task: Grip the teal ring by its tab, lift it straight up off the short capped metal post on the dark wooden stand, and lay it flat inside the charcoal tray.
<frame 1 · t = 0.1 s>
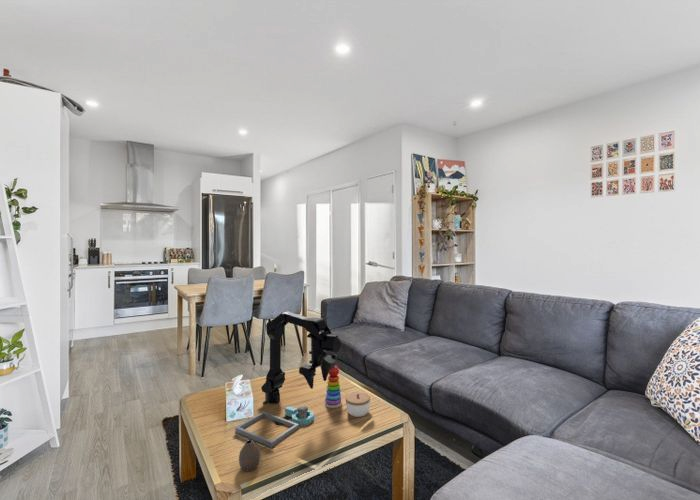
hand: (318, 384, 147), 15 cm above the table, tool pointing down, fingers open, 9 cm apart
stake: (302, 421, 145), on the table
stacking toy: (333, 406, 158), on the table
ring: (302, 419, 145), point 1 cm above the table, touching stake
vase: (249, 467, 116), on the table
tray: (267, 432, 137), on the table
lidded jar: (358, 415, 150), on the table
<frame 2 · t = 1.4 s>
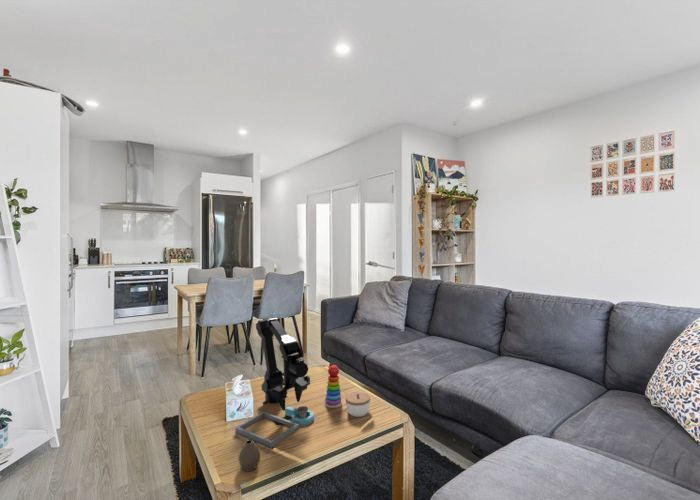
hand: (291, 405, 148), 5 cm above the table, tool pointing down, fingers open, 9 cm apart
nothing on the table moved.
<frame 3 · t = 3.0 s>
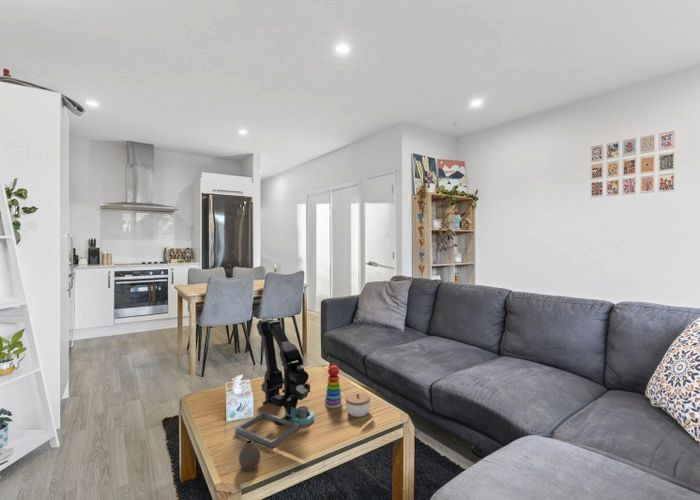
hand: (291, 413, 148), 2 cm above the table, tool pointing down, fingers closed on ring, 2 cm apart
ring: (302, 419, 145), point 1 cm above the table, touching gripper, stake
everything else where it was.
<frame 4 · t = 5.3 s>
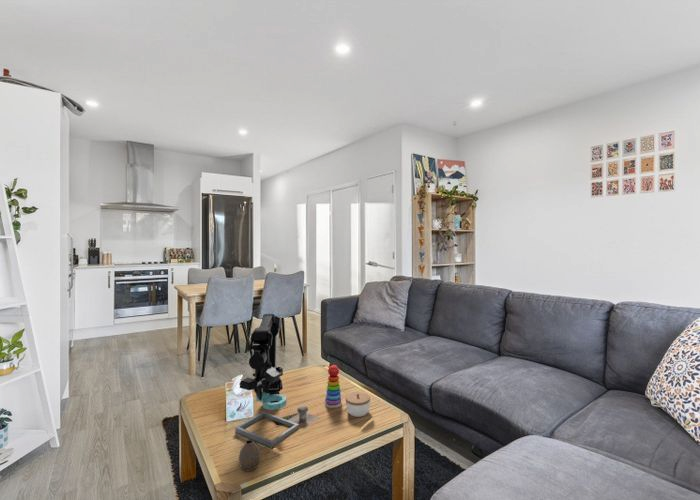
hand: (262, 398, 140), 12 cm above the table, tool pointing down, fingers closed on ring, 2 cm apart
ring: (274, 404, 137), point 11 cm above the table, touching gripper
everything else where it was.
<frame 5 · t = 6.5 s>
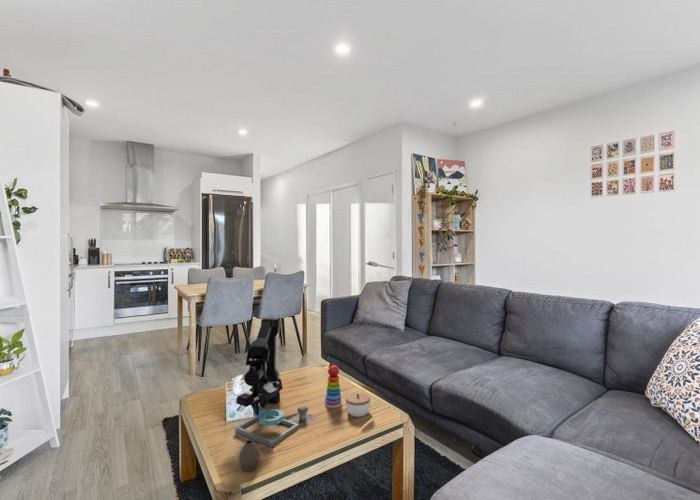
hand: (259, 413, 140), 6 cm above the table, tool pointing down, fingers closed on ring, 2 cm apart
ring: (271, 419, 136), point 5 cm above the table, touching gripper
everything else where it was.
when the fingers open (3 cm above the table, at t = 7.7 s): ring drops 1 cm, resting on tray.
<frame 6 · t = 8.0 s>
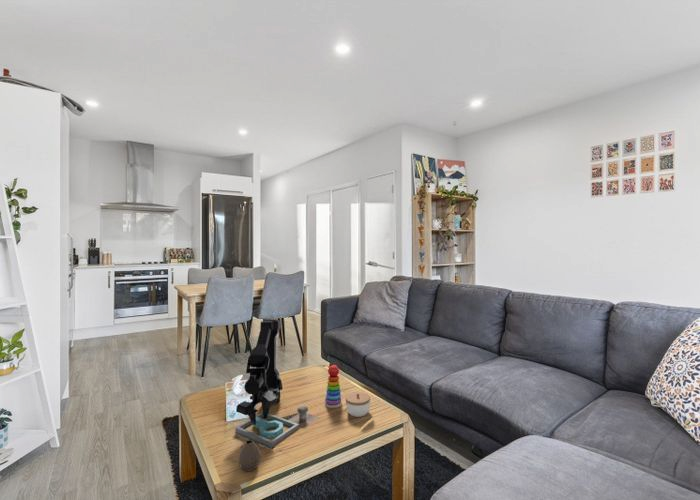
hand: (259, 421, 140), 3 cm above the table, tool pointing down, fingers open, 6 cm apart
ring: (271, 431, 136), point 1 cm above the table, touching tray
everything else where it was.
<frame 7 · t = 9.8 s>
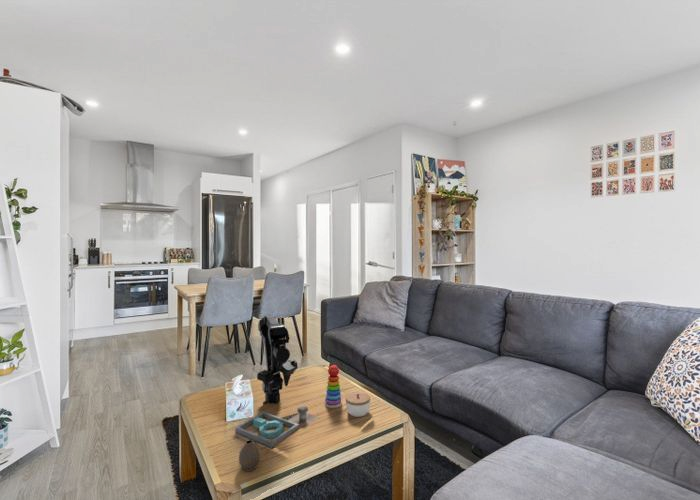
hand: (278, 389, 149), 12 cm above the table, tool pointing down, fingers open, 9 cm apart
nothing on the table moved.
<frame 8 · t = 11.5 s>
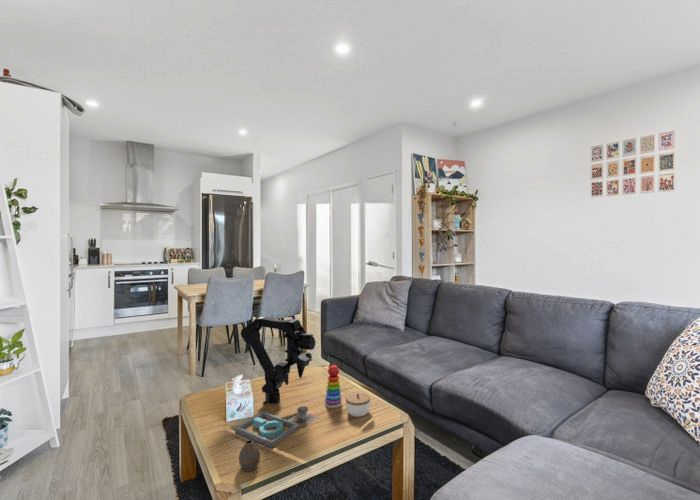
hand: (293, 381, 158), 12 cm above the table, tool pointing down, fingers open, 9 cm apart
nothing on the table moved.
at the end: ring inside the target area on the tray (0.7 cm from its centre), point 0.8 cm above the tray's base; ring tilted 0°; the gripper is holding nothing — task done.
